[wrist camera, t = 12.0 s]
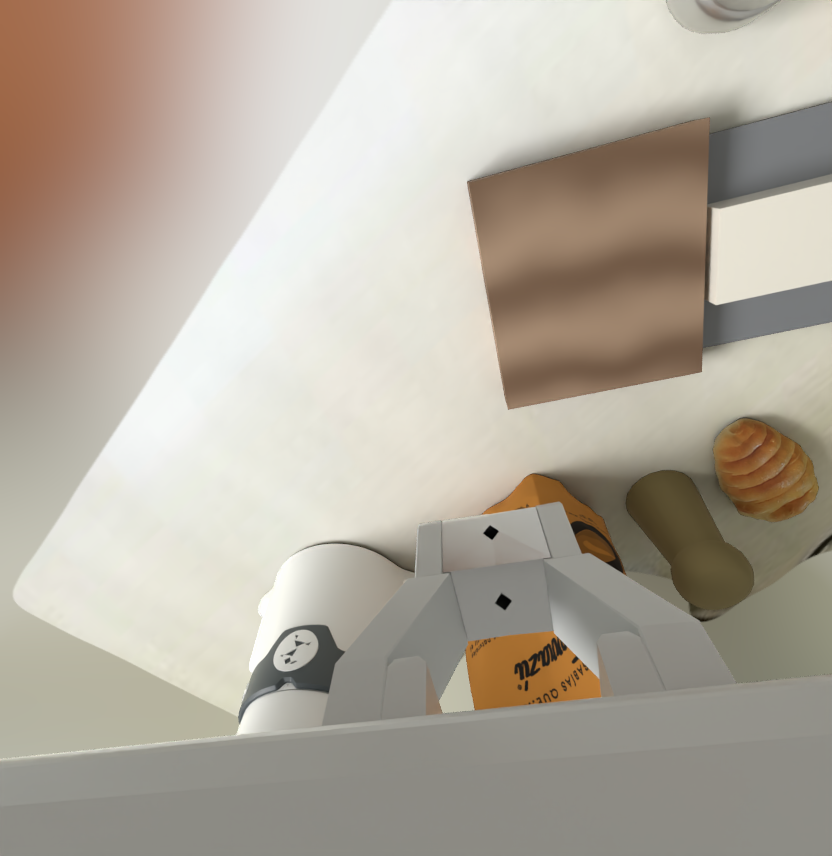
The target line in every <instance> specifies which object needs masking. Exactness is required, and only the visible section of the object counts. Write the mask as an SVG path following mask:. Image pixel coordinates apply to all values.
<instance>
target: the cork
mask: <svg viewBox="0 0 832 856" xmlns="http://www.w3.org/2000/svg"><path fill="white" fill-rule="evenodd" d="M626 506H627V511H628V512H629V514H630V515H631V516H632V518H633V519H634V520H635V521H636V523H637V524H638V525H639V526H640V528H641V529H642V530H643V531H644V533H645V534H646V535H647V536H648V538H649V539H650V540H651V541H652V542H653V544H654V545H655V546H656V547H657V549H658V550H659V551H660V552H661V554H662V555H663V556H664V557H665V559H666V560H667V561H668V562H669V564H670V565H671V575H672V580H673V584H674V586H675V587H676V589H677V591H678V592H679V593H680V595H681V596H682V597H683V598H684V599H685V600H686V601H688V602H689V603H691V604H693V605H694V606H696V607H698V608H702V609H706V610H720V609H725V608H729V607H731V606H734V605H736V604H738V603H739V602H741V601H742V600H744V599H745V598H746V597H747V596H748V595H749V593H750V592H751V590H752V587H753V584H754V574H753V569H752V567H751V565H750V563H749V562H748V560H747V558H746V557H745V556H744V555H743V554H742V552H740V551H739V550H738V549H736V548H735V547H733V546H732V545H730V544H729V543H725V541H724V540H723V538H722V536H721V534H720V532H719V530H718V528H717V526H716V524H715V522H714V520H713V518H712V517H711V515H710V513H709V511H708V509H707V507H706V505H705V503H704V501H703V499H702V497H701V495H700V494H699V492H698V490H697V488H696V486H695V484H694V483H693V481H692V480H691V478H689V477H688V476H687V475H685V474H684V473H681V472H677V471H673V470H666V471H658V472H654V473H650V474H649V475H647V476H645V477H643V478H641V479H640V480H639V481H637V482H636V483H635V484H634V485H633V486H632V488H631V489H630V491H629V493H628V494H627V499H626Z"/></svg>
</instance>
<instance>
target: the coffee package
mask: <svg viewBox="0 0 832 856" xmlns="http://www.w3.org/2000/svg"><path fill="white" fill-rule="evenodd" d="M554 502H560V503H562V505H563V508H564V510H565V513H566V515H567V518H568V520H569V523H570V525H571V528H572V530H573V533H574V535H575V538H576V540H577V543H578V545H579V548H580V550H581V553H582V554H585V553H590V554H592V555H593V556H595V557H597V558H598V559H600V560H602V561H603V562H605V563H606V564H608V565H610V566H611V567H613V568H615V569H616V570H618V571H619V572H621V573H623V574H624V575H626V573H625V571H624V568H623V565H622V562H621V560H620V557H619V555H618V553H617V552H616V550H615V548H614V546H613V544H612V541H611V538H610V535H609V533H608V530H607V528H606V525H605V522H604V519H603V518H602V517H601V516H599V515H597V514H596V513H595V512H594V511H593V510H592V509H591V508H590V507H588V506H587V505H584V504H582V503H581V502H579V501H578V500H577V499H575V498H574V497H573V496H572V495H571V494H570V493H569V492H568V491H567V490H566V489H565V487H564V486H563V485H562V483H561V482H559V481H557V480H554V479H550V478H547V477H545V476H541V475H537V474H531V475H529V476H527V477H526V478H524V480H523V481H522V482H521V483H520V484H519V485H518V486H517V487H516V488H515V490H514V491H513V492H512V493H511V494H510V495H509V496H508V497H507V498H506V499H505V500H504V501H502V502H500V503H498V504H496V505H494V506H492V507H490V508H489V509H487V510H486V511H485V512H484V513H483V514H482V515H485V514H494V513H500V512H506V511H512V510H519V509H525V508H531V507H536V506H538V505H543V504H548V503H554ZM626 576H627V575H626ZM465 650H466V662H467V668H468V675H469V681H470V687H471V693H472V697H473V703H474V708H475V710H482V709H492V708H502V707H511V706H521V705H531V704H541V703H550V702H560V701H570V700H580V699H589V698H599V697H601V691H600V679H599V678H598V677H597V676H596V675H595V674H594V673H593V672H592V671H591V670H590V669H589V668H588V667H587V666H586V665H585V664H584V663H583V662H582V661H581V660H580V659H579V658H578V657H577V656H576V655H575V654H574V653H573V652H572V651H571V650H570V649H569V648H568V647H567V646H566V645H565V644H564V643H563V642H562V641H561V640H560V639H559V638H558V637H557V636H556V635H555V634H554V631H549V632H538V633H528V634H517V635H508V636H501V637H494V638H488V639H481V640H475V641H468V645H467V647H466V649H465Z"/></svg>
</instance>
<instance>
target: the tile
mask: <svg viewBox="0 0 832 856" xmlns="http://www.w3.org/2000/svg"><path fill="white" fill-rule="evenodd" d="M827 281H832V174H830V175H825V176H821V177H817V178H813V179H809V180H805V181H801V182H797V183H793V184H789V185H785V186H781V187H777V188H772V189H768V190H764V191H760V192H756V193H752V194H748V195H744V196H740V197H736V198H732V199H728V200H723V201H719V202H715V203H711V204H707V223H706V255H705V287H704V299H705V300H707V301H709V302H711V303H713V304H715V305H719V304H724V303H729V302H733V301H738V300H743V299H747V298H752V297H757V296H762V295H766V294H771V293H776V292H780V291H785V290H790V289H794V288H799V287H804V286H808V285H813V284H818V283H822V282H827Z"/></svg>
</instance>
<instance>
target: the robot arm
mask: <svg viewBox="0 0 832 856" xmlns="http://www.w3.org/2000/svg"><path fill="white" fill-rule="evenodd" d="M258 612H259V614H260V615H261V617H262V622H261V625H260V628H259V632H258V635H257V639H256V642H255V646H254V649H253V653H252V656H251V660H250V665H249V668H250V672H252V676H251V679H250V682H249V683H248V684H247V687H246V689H245V692H244V695H243V698H242V699H243V700H242V705H241V708H240V711H239V716H238V718H239V725H240V726H239V728H238V731H237V734H236V735H230V736H220V737H210V738H200V739H190V740H181V741H171V742H161V743H151V744H142V745H132V746H123V747H112V748H103V749H93V750H83V751H74V752H64V753H54V754H44V755H34V756H25V757H15V758H6V759H0V856H832V674H824V675H814V676H804V677H795V678H785V679H775V680H765V681H756V682H746V683H737V682H736V681H735V679H734V677H733V676H732V674H731V672H730V671H729V669H728V668H727V666H726V664H725V663H724V661H723V659H722V658H721V656H720V654H719V653H718V651H717V649H716V648H715V646H714V644H713V643H712V641H711V639H710V638H709V636H708V634H707V633H706V631H705V629H704V628H703V626H702V624H701V623H700V621H699V620H697V619H696V618H694V617H692V616H691V615H689V614H687V613H686V612H684V611H683V610H681V609H679V608H678V607H676V606H675V605H673V604H671V603H670V602H668V601H666V600H665V599H663V598H662V597H660V596H658V595H657V594H655V593H653V592H652V591H650V590H649V589H647V588H645V587H644V586H642V585H641V584H639V583H637V582H636V581H634V580H632V579H631V578H629V577H628V576H626V575H624V574H623V573H621V572H619V571H618V570H616V569H615V568H613V567H611V566H610V565H608V564H606V563H605V562H603V561H602V560H600V559H598V558H597V557H595V556H593V555H592V554H590V553H585V554H582V553H581V550H580V548H579V545H578V543H577V540H576V538H575V535H574V533H573V530H572V528H571V525H570V523H569V520H568V518H567V515H566V513H565V510H564V508H563V505H562V503H560V502H554V503H548V504H543V505H538V506H536V507H531V508H525V509H519V510H512V511H506V512H500V513H494V514H485V515H477V516H470V517H462V518H455V519H448V520H443V521H434V522H428V523H421V524H419V526H418V528H417V545H416V561H415V573H414V572H411V571H407V570H404V569H402V568H400V567H398V566H396V565H395V564H394V563H392V562H391V561H389V560H388V559H386V558H385V557H383V556H381V555H380V554H378V553H375V552H373V551H371V550H368V549H365V548H362V547H358V546H353V545H347V544H323V545H317V546H313V547H309V548H306V549H304V550H302V551H299V552H298V553H296V554H294V555H293V556H291V557H290V558H289V559H288V560H287V561H286V562H285V563H284V564H283V565H282V566H281V568H280V570H279V572H278V574H277V577H276V580H275V584H274V586H273V588H272V589H271V590H270V591H269V592H268V593H267V594H265V595H264V596H263V597H262V599H261V600H260V603H259V607H258ZM549 631H554V634H555V635H556V636H557V637H558V638H559V639H560V640H561V641H562V642H563V643H564V644H565V645H566V646H567V647H568V648H569V649H570V650H571V651H572V652H573V653H574V654H575V655H576V656H577V657H578V658H579V659H580V660H581V661H582V662H583V663H584V664H585V665H586V666H587V667H588V668H589V669H590V670H591V671H592V672H593V673H594V674H595V675H596V676H597V677H598V678H599V679H600V691H601V697H599V698H589V699H580V700H570V701H560V702H550V703H541V704H531V705H521V706H511V707H502V708H492V709H482V710H472V711H463V712H453V713H442V710H441V707H440V704H439V700H440V698H441V696H442V694H443V692H444V690H445V688H446V686H447V685H448V683H449V681H450V679H451V677H452V675H453V673H454V671H455V668H456V667H457V665H458V663H459V661H460V659H461V657H462V655H463V653H464V651H465V649H466V647H467V645H468V641H475V640H481V639H488V638H494V637H501V636H508V635H517V634H528V633H538V632H549Z"/></svg>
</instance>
